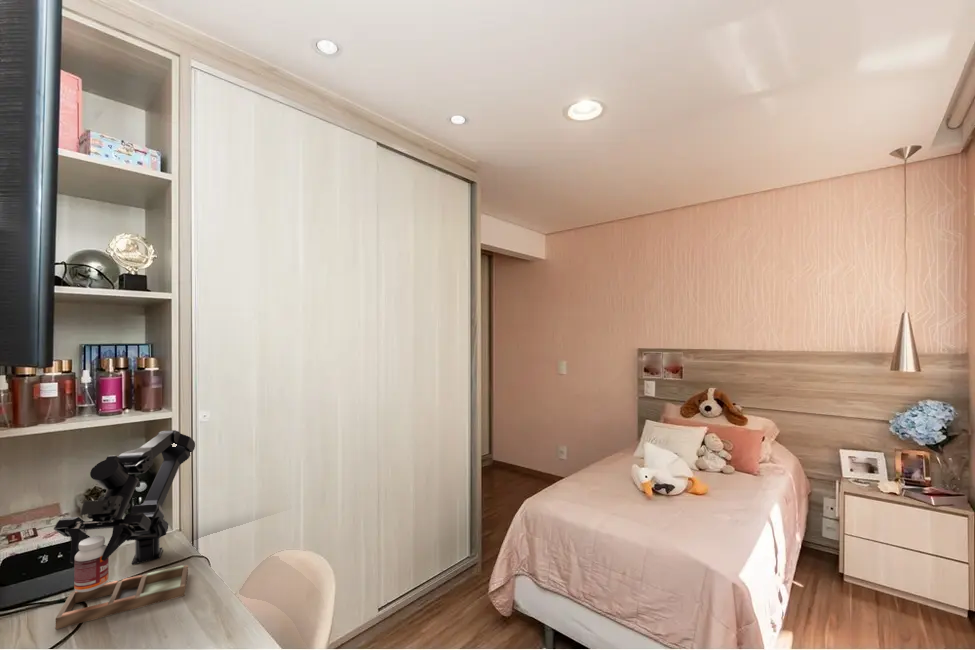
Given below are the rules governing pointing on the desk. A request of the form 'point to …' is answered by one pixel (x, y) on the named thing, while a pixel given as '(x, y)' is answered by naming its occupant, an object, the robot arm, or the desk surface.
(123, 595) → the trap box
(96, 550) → the pill bottle
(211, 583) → the desk surface
